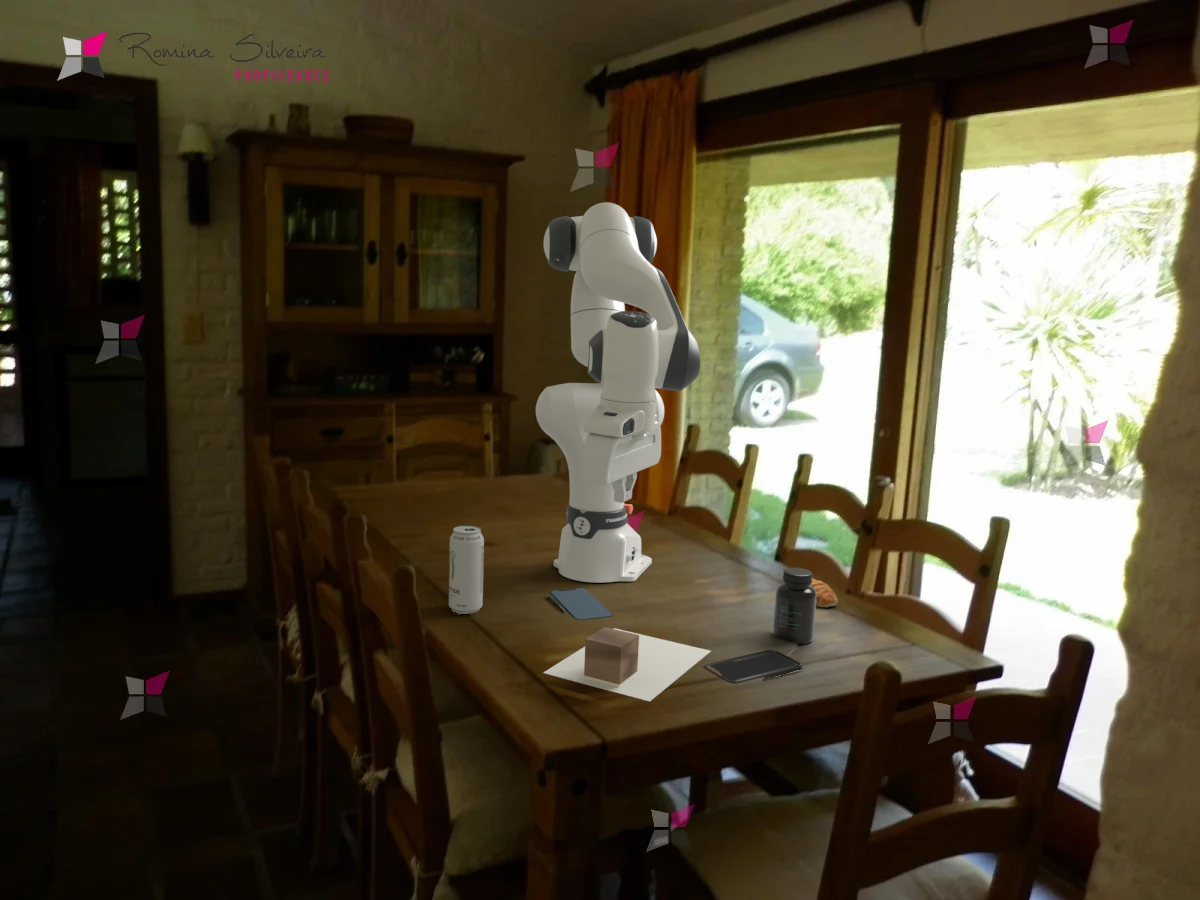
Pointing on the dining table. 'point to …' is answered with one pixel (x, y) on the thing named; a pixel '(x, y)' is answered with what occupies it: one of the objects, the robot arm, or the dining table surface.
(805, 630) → the supplement bottle
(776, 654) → the phone
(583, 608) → the smartphone
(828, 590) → the pastry
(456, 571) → the energy drink can
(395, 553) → the dining table surface
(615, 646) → the walnut cube
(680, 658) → the white mat
